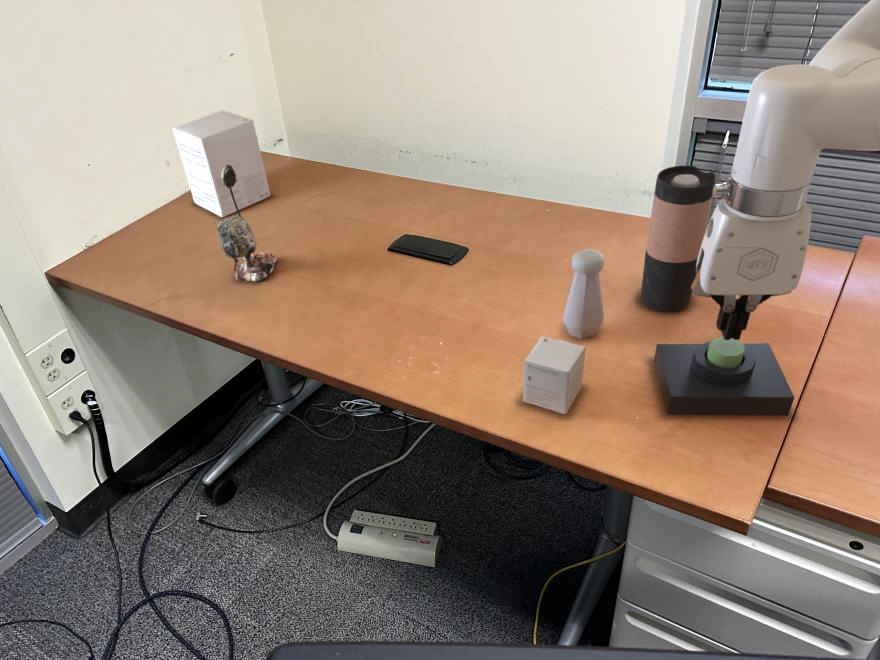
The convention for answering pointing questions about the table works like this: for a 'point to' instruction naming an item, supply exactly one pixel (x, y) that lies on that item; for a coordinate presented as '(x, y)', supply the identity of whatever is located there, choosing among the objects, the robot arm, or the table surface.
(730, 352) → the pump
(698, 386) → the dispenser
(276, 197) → the table surface
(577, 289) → the salt shaker
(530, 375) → the product box
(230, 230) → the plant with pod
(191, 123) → the supplement box
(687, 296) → the travel mug
